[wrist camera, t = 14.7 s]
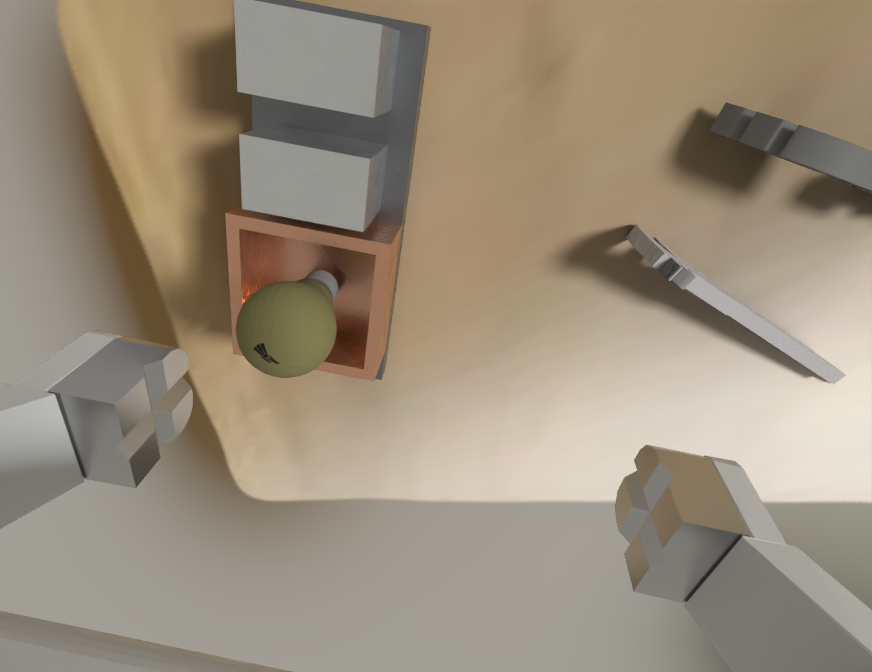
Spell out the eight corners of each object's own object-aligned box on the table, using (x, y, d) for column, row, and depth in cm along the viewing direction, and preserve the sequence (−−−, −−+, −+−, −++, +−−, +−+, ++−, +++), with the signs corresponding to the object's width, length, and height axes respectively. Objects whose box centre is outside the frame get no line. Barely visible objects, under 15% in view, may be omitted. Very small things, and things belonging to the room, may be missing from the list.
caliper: (622, 234, 33) (648, 268, 27) (634, 221, 32) (663, 253, 27) (830, 380, 36) (889, 436, 31) (843, 370, 36) (906, 425, 31)
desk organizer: (260, -5, 28) (201, -23, 22) (430, 27, 28) (415, 17, 22) (265, 346, 40) (228, 393, 34) (385, 369, 40) (367, 420, 34)
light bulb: (275, 294, 35) (204, 368, 27) (301, 229, 33) (233, 289, 24) (344, 329, 36) (297, 412, 27) (375, 269, 33) (335, 340, 25)
